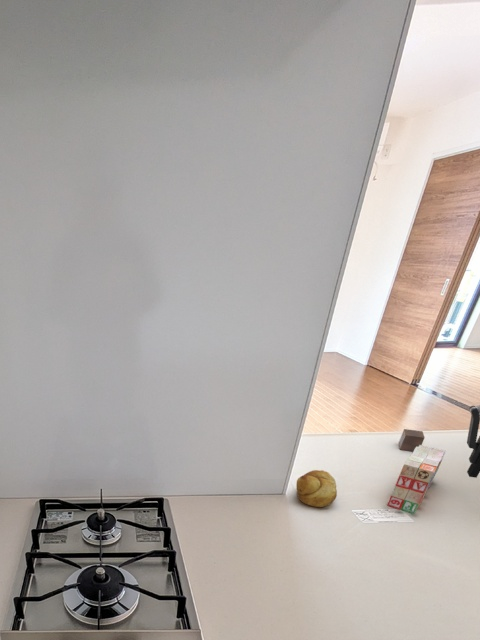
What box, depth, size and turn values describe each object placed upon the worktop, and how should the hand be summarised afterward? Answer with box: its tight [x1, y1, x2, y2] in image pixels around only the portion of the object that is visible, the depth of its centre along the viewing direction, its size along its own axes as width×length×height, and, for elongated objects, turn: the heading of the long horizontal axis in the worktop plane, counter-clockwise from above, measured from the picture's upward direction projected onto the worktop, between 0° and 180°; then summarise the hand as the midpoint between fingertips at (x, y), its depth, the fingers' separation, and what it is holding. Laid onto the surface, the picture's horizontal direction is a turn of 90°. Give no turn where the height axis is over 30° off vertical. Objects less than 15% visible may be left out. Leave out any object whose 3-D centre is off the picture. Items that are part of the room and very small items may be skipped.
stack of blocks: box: [386, 444, 447, 515], centre depth 113 cm, size 21×6×12 cm, turn 137°
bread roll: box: [296, 469, 338, 508], centre depth 114 cm, size 13×10×8 cm
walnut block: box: [398, 428, 426, 453], centre depth 136 cm, size 5×5×5 cm
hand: (471, 474), depth 108 cm, fingers closed
